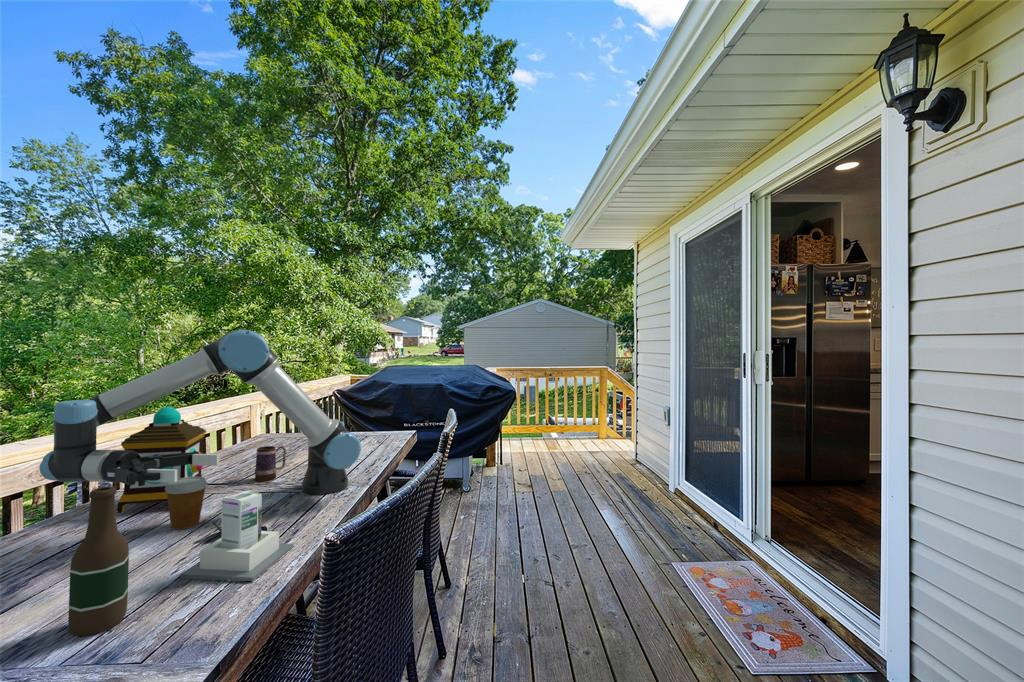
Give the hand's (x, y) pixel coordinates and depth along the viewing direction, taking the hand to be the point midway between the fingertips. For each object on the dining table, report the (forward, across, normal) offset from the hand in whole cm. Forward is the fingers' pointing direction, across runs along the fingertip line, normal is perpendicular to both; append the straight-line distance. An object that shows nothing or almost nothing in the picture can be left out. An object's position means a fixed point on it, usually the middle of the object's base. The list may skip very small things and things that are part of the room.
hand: (198, 467), depth 108 cm
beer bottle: (+3, +28, -20) cm, 35 cm away
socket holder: (+14, +4, -20) cm, 25 cm away
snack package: (+4, -10, -21) cm, 24 cm away
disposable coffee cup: (-15, -15, -20) cm, 30 cm away
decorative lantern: (-35, -31, -20) cm, 51 cm away
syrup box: (+14, +4, -20) cm, 24 cm away
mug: (-17, -59, -21) cm, 65 cm away
